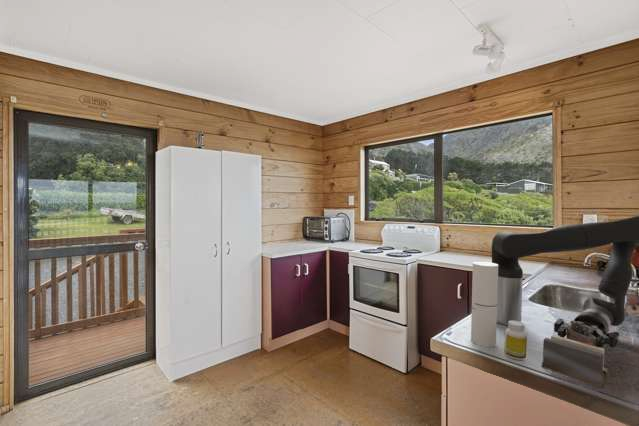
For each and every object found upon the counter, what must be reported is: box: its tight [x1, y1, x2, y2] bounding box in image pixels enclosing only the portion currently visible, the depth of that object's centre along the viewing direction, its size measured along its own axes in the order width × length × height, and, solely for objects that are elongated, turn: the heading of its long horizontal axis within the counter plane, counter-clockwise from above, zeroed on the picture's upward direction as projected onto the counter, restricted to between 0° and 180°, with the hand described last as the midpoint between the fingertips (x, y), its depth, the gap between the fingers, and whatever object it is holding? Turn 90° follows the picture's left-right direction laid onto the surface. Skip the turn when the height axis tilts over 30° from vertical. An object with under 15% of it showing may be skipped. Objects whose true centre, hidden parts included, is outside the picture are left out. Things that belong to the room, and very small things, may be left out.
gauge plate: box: [550, 334, 606, 374], centre depth 85 cm, size 2×12×6 cm, turn 39°
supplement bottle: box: [504, 320, 528, 361], centre depth 93 cm, size 5×5×10 cm
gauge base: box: [541, 337, 612, 388], centre depth 86 cm, size 12×12×8 cm
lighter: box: [565, 320, 597, 346], centre depth 88 cm, size 8×3×10 cm, turn 5°
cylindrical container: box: [470, 261, 498, 348], centre depth 101 cm, size 7×7×25 cm
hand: (578, 339), depth 86 cm, fingers closed on lighter, 7 cm apart
